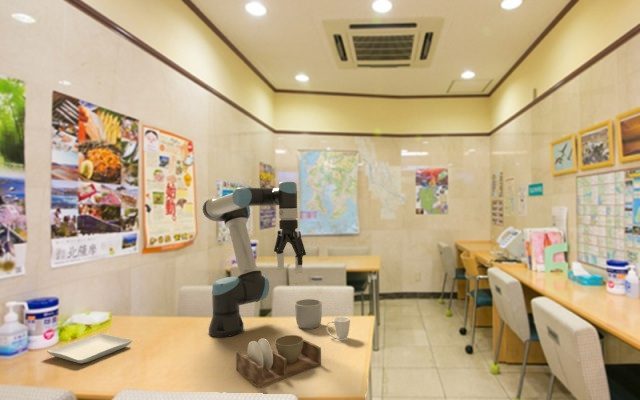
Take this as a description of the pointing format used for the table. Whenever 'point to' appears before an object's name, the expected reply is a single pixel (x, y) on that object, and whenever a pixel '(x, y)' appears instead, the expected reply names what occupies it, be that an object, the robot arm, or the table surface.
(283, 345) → the flower pot
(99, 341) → the salad plate
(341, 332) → the cup
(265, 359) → the plates
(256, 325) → the table surface
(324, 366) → the table surface
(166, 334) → the table surface
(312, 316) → the planter
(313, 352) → the rack
